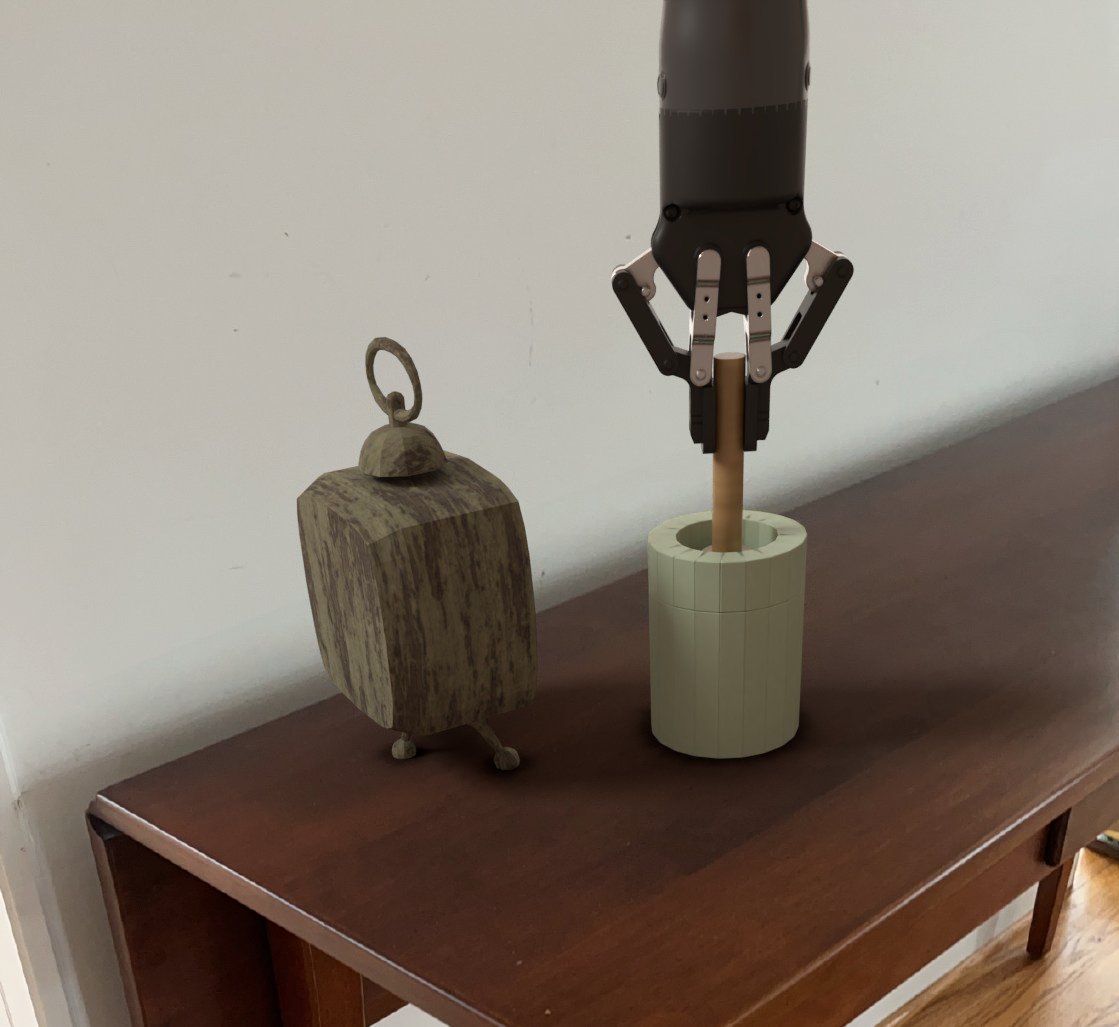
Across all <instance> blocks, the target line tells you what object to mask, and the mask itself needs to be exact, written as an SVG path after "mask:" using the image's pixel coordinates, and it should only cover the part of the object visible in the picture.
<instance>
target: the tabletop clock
mask: <svg viewBox="0 0 1119 1027" xmlns="http://www.w3.org/2000/svg"><path fill="white" fill-rule="evenodd" d="M379 351H385V352H386V353H387V352H388V353H390V354H391V355H393V356H394V357H396V359H397V360H398V361H399V362H400V363H401V365H402V366H403V368H404V370H405V372H406V374H407V376H408V379H409V382H410V384H411V385H412V391H413V405H412V407H411V408H410V409H406V402H405V396H404V395H403V394H402V392H400V391H395V390H394V391H391V392H389V393H387V395H386V396H385V395H384V393H383V391H382V390H381V389H380V387H379V386H378V384H377V381H376V377H375V372H374V370H375V369H374V364H375V358H376V356H377V354H378V352H379ZM364 359H365V360H364V364H365V366H364V367H365V375H366V379H367V383H368V386H369V389H370V392H371V395H372V397H373V400H374V402H375V403H376V404H377V406H378V407H379V408H380V410H381V411H382V412H383V413H384V414H386V415H387V418H388V424H384V425H381V426H380V427H378V428H376V429H375V430H372V431H371V432H370V433H369V435H367V437H366V439H365V440H364V441H363V444H362V446H361V448H360V452H359V458H358V463H357V464H358V465H356V466H351V467H347V468H341V469H336V470H332V471H327V472H324V473H322V474H321V475H319V476H318V477H317V478H316V479H315V480H313V481H312V483H311V484H310V485H309V486H308V487H307V488H305V490H304V491H302V493H301V494H299V496H298V497H297V498H296V516H297V517H296V518H297V527H298V536H299V543H300V549H301V555H302V562H303V570H304V575H305V582H306V588H307V594H308V599H309V605H310V610H311V616H312V622H313V625H314V632H315V636H316V641H317V646H318V650H319V654H320V657H321V661H322V664H323V667H324V671H325V672H326V673H327V675H328V677H329V679H330V680H331V682H332V683H333V685H334V686H335V687H336V688H337V689H338V690H339V691H340V692H341V693H342V694H343V695H344V696H345V697H346V698H347V699H348V700H349V701H350V702H351V703H352V704H353V705H354V706H355V707H356V708H357V709H358V710H359V711H361V712H362V713H363V714H365V715H366V716H367V717H368V718H370V719H371V720H373V722H375V723H376V724H378V725H379V726H381V727H382V728H384V729H388V730H391V731H395V732H400V733H401V738H398V739H396V740H395V741H394V743H393V745H392V747H391V754H392V757H393V758H394V759H397V760H408V759H411V758H413V757H414V756H416V755H417V747H416V745H415V743H414V741H413V740H412V739H411V735H412V736H416V737H426V736H430V735H433V734H437V733H440V732H444V731H447V730H451V729H454V728H458V727H461V726H464V725H468V726H470V727H471V728H473V729H474V730H475V731H476V732H477V733H478V734H479V735H480V736H481V737H482V738H483V739H484V740H485V742H486V743H487V744H488V745H489V746H490V747H491V748H492V750H493V751H494V752H495V754H494V757H493V762H494V765H495V767H496V769H499V770H502V771H509V770H513V769H516V768H518V767H519V765H520V762H521V758H520V756H519V754H518V751H517V750H516V749H515V748H512V747H509V746H503V745H502V743H501V742H500V740H499V738H498V737H497V735H496V733H495V731H494V730H493V729H492V727H491V725H490V723H489V720H488V718H491V717H494V716H499V715H502V714H506V713H508V712H512V711H515V710H518V709H522V708H525V707H528V706H532V705H534V704H535V699H536V698H535V697H536V693H537V688H538V686H537V685H538V639H537V613H536V602H535V592H534V584H533V574H532V565H531V557H530V556H531V555H530V550H529V543H528V537H527V530H526V526H525V522H524V519H523V514H522V510H521V506H520V501H519V500H518V499H517V497H516V496H515V494H514V493H513V492H512V490H511V489H510V488H509V486H508V485H507V484H506V483H505V482H503V480H502V479H501V478H499V477H497V475H495V474H494V473H493V472H490V471H489V470H487V469H486V468H484V467H483V466H481V465H479V464H478V463H476V462H475V461H473V460H472V459H471V458H469V457H465V456H463V455H460V454H456V453H455V452H450V451H448V450H444V449H443V447H442V445H441V443H440V441H439V440H438V438H437V436H436V435H435V434H434V433H433V431H431V430H430V429H429V428H428V427H426V426H425V425H422V424H419V423H416V422H415V423H414V422H413V421H415V420H417V419H418V418H419V416H420V414H421V411H422V408H423V389H422V384H421V380H420V376H419V372H418V369H417V367H416V364H415V363H414V360H413V358H412V357H411V355H410V354H409V352H408V351H407V349H406V348H405V347H404V346H403V345H402V344H400V342H398V341H396V340H394V339H391V338H389V337H386V336H379V337H374V339H373V340H371V341H370V343H369V344H368V345H367V348H366V351H365V358H364Z"/></svg>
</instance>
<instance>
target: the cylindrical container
mask: <svg viewBox="0 0 1119 1027" xmlns="http://www.w3.org/2000/svg"><path fill="white" fill-rule="evenodd" d="M711 545H712V510H705V511H699V512H693V513H687V514H683V515H680V516H676V517H672V518H670V519H666V520H665V521H663V522H661V523H659V524H657V525H655V526H654V527H653V529H651V531H650V532H649V533H647V564H648V565H647V571H648V574H647V575H648V576H647V577H648V581H647V582H648V625H649V626H648V628H649V630H648V632H649V672H650V673H649V676H650V724H651V733H652V735H653V736H654V737H655V739H657V741H658V742H659V743H660V744H661V745H663V746H665V747H667V748H669V749H671V750H672V751H674V752H678V753H682V754H685V755H689V756H693V757H698V758H707V759H708V758H710V759H720V760H721V759H739V758H740V759H741V758H747V757H751V756H757V755H761V754H765V753H768V752H772V751H773V750H776V749H778V748H781V747H782V746H784V745H786V744H788V742H789V741H791V740H792V739H793V738H794V737H795V736H796V733H797V731H798V729H799V726H800V706H801V705H800V704H801V686H802V684H801V683H802V682H801V681H802V663H803V644H804V643H803V639H804V618H805V600H806V599H805V598H806V597H805V595H806V579H807V578H806V574H807V556H808V555H807V554H808V553H807V552H808V533H807V531H806V528H805V526H804V525H802V523H799V522H798V521H797V520H795V519H792V518H789V517H786V516H783V515H780V514H776V513H772V512H767V511H759V510H747V509H743V526H742V545H746V546H749V547H750V548H752V549H753V550H747V551H741V552H725V553H721V552H705V551H702V549H704V548H705V547H708V546H711Z"/></svg>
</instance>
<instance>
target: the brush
mask: <svg viewBox="0 0 1119 1027" xmlns="http://www.w3.org/2000/svg"><path fill="white" fill-rule="evenodd" d="M745 376H747V365H746V353H743V352H738V351H737V352H736V351H726V352H720V353H717V354H713V364H712V378H713V383H715V386H716V420H715V453H714V454H712V475H711V478H712V479H711V480H712V484H711V485H712V486H711V487H712V488H711V491H712V492H711V511H712V545H711V546H708V547H705V548H704V549H702V551H705V552H721V553H725V552H741V551H747V550H753V549H752V548H750V547H749V546H746V545H742V526H743V510H744V473H745V472H744V469H745V468H744V467H745V452H744V402H745Z"/></svg>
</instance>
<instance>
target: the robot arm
mask: <svg viewBox="0 0 1119 1027" xmlns="http://www.w3.org/2000/svg"><path fill="white" fill-rule="evenodd" d="M660 11H661V12H660V23H659V30H658V43H657V44H658V45H657V46H658V47H657V79H656V80H657V81H656V86H657V87H656V91H657V95H658V154H659V155H658V162H659V163H658V164H659V165H658V168H659V169H658V170H659V171H658V172H659V174H658V175H659V176H658V177H659V178H658V179H659V215H658V219H657V223H656V225H655V227H654V229H653V232H652V234H651V238H650V247H649V248H648V249H646V250H645V251H644V252H642V253H641V254H639V255H638V256H636V257H635V258H634V259H632V260H631V261H629V262H628V263H626V264H624V263H623V264H622V263H621V264H617V265H616V266H615V267H614V268H613V269H612V271H611V276H610V277H611V278H610V281H611V286H612V287H611V288H612V291H613V293H614V294H615V296H616V298H617V300H618V302H619V303H620V305H621V307H622V309H623V311H624V312H625V313H626V315H627V317H628V319H629V321H630V322H631V324H632V327H633V328H634V330H635V331H636V333H637V335H638V337H639V338H640V340H641V343H643V345H644V347H645V349H646V350H647V352H648V354H649V356H650V358H651V359H652V361H653V362H654V364H655V366H656V368H657V370H658V371H659V373H660V374H661V375H663V376H664V377H672V376H673V377H676V378H679V379H682V380H683V381H685V382H686V383H687V384H688V431H689V434H690V438H691V440H692V443H693V444H694V445H699V444H700V448H701V454H702V455H708V454H709V455H710V454H712V455H713V454H714V453H715V420H716V386H715V383H713V357H714V348H715V342H716V341H715V340H716V332H717V318H718V317H721V316H724V315H728V314H731V313H734V314H738V315H741V316H742V317H743V320H742V321H743V329H744V341H745V342H744V348H745V355H746V376H745V402H744V453H746V452H747V453H748V452H757V450H758V441H766V439H767V437H768V434H769V432H770V413H771V412H770V410H771V385H772V382H773V380H774V379H775V377H776V376H777V375H779V374H781V373H783V372H786V371H787V370H789V369H791V370H794V369H798V368H800V367H801V366H802V365H803V364H804V362H805V360H806V359H807V357H808V355H809V353H810V351H811V350H812V348H813V346H814V345H815V343H816V341H817V340H818V338H819V336H820V334H821V332H822V331H823V328H824V327H825V326H826V324H827V322H828V320H829V318H830V316H831V314H832V313H833V311H834V309H835V308H836V306H837V304H838V302H839V301H840V299H841V297H842V295H843V293H844V292H845V290H846V288H847V286H848V285H849V283H850V281H851V280H852V278H853V276H854V272H855V268H854V264H853V263H852V260H850V259H849V257H847V255H846V254H845V253H843V252H842V251H839V250H835V251H832V250H830V249H829V248H827V247H826V246H824V245H822V244H820V243H819V242H817V241H816V240H814V239H813V230H812V226H811V225H810V223H809V221H808V219H807V216H806V211H805V180H806V160H807V159H806V158H807V157H806V156H807V155H806V154H807V136H808V135H807V134H808V109H809V108H808V107H809V89H810V87H811V82H812V66H811V62H810V58H811V56H810V55H811V26H810V23H811V22H810V12H809V0H661V10H660ZM804 260H805V262H806V269H805V272H804V274H803V280H804V284H805V285H806V287H807V288H808V289H807V290H808V291H807V292H806V294H805V296H804V298H803V300H802V301H801V303H800V305H799V307H798V308H797V310H796V312H795V314H794V316H793V318H792V319H791V321H790V323H789V325H788V327H787V328H786V330H785V331H784V334H783V335H782V338H781V339H780V341H778V342H775V343H774V344H772V306H773V305H774V303H775V302H776V301H777V300H778V298H779V296H780V295H781V293H782V292H783V290H784V289H785V288H786V286H787V285H788V283H789V281H790V280H791V278H792V277H793V276H794V274H795V273H796V271H797V270H798V268H799V267H800V265H801V263H802V262H803V261H804ZM657 269H660V270H661V271H662V273H663V274H664V276H665V277H666V279H667V280H668V282H669V283H670V285H671V286H672V287H673V289H674V290H675V292H676V293H677V295H678V296H679V298H680V299H681V301H682V302H683V303H684V305H685V306H686V307H687V308H688V309H689V320H688V321H689V322H688V324H689V325H688V334H689V335H688V349H683V348H681V347H678V346H676V345H675V344H674V342H673V340H672V339H671V337H670V335H669V334H668V332H667V330H666V328H665V327H664V324H663V323H662V321H661V319H660V318H659V316H658V314H657V312H656V310H655V309H654V307H653V305H652V303H651V300H653V298H654V297H655V296H656V294H657V285H656V281H655V278H654V277H655V273H656V271H657Z"/></svg>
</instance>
